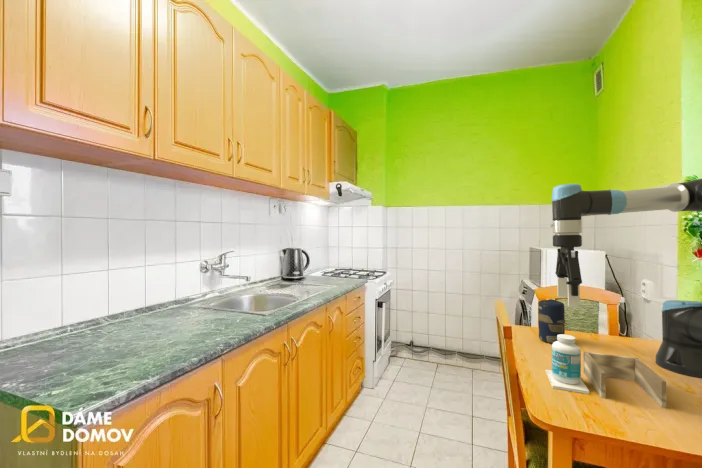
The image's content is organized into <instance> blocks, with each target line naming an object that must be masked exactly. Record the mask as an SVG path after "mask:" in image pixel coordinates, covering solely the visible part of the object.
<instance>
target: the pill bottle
mask: <svg viewBox="0 0 702 468" xmlns="http://www.w3.org/2000/svg"><path fill="white" fill-rule="evenodd" d="M557 340H558V341H555V342H554V343H551V370H552V376H553V378H554V379H556V380H558V381H560V382H562V383H566V384H578V383H580V381H581V379H582V378H581V377H582V375H581V373H582V372H581V371H582V370H581V367H582V364H581V363H582V359H581V358H582V350H581V347H580V346H579V345H578V344H576V337H575V336H573V335H570V334H558V335H557Z"/></svg>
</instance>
